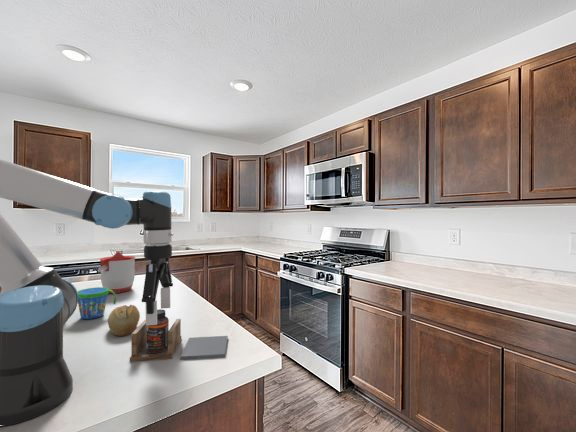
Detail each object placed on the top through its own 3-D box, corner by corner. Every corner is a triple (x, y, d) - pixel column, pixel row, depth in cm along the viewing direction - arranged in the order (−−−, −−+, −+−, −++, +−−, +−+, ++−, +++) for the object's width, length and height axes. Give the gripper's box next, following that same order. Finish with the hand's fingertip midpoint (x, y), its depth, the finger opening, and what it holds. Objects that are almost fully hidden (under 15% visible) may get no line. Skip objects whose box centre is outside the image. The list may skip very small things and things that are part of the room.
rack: (171, 358, 79) (171, 333, 79) (129, 361, 78) (129, 335, 78) (181, 339, 92) (181, 317, 91) (145, 340, 90) (145, 318, 90)
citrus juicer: (89, 293, 141) (89, 253, 141) (121, 285, 157) (121, 249, 157) (110, 297, 135) (110, 255, 135) (142, 288, 151) (142, 251, 151)
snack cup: (115, 309, 119) (115, 284, 119) (116, 316, 111) (116, 290, 110) (68, 316, 111) (68, 290, 111) (65, 325, 102) (65, 297, 102)
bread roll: (137, 319, 108) (137, 298, 108) (142, 334, 95) (142, 310, 95) (107, 325, 103) (107, 302, 103) (108, 340, 90) (108, 315, 90)
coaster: (224, 356, 81) (224, 353, 81) (180, 359, 79) (180, 356, 79) (227, 338, 92) (227, 335, 92) (189, 340, 91) (189, 337, 91)
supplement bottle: (144, 355, 81) (144, 315, 81) (148, 346, 87) (148, 308, 87) (167, 352, 83) (167, 313, 82) (169, 343, 88) (169, 307, 88)
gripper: (158, 249, 72) (159, 332, 73) (181, 239, 97) (181, 301, 98) (126, 250, 71) (128, 334, 72) (157, 240, 96) (158, 302, 97)
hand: (159, 315), depth 85 cm, fingers open, 13 cm apart
